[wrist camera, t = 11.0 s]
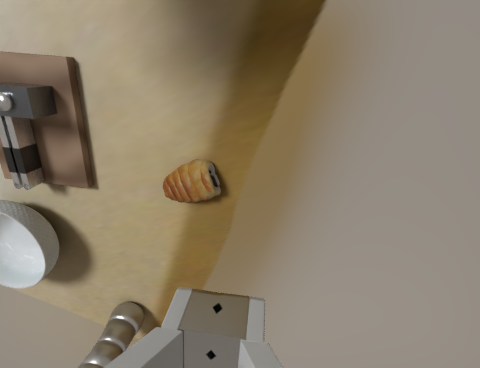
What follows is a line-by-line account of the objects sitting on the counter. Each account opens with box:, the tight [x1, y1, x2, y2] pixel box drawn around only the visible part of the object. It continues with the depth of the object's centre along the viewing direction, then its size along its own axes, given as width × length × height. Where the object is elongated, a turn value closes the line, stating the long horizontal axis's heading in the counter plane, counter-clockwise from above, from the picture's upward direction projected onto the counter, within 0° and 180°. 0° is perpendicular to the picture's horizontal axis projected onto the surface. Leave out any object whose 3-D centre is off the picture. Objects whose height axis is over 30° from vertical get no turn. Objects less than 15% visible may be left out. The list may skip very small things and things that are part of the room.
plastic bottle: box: [78, 302, 144, 368], centre depth 49 cm, size 6×7×20 cm
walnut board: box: [0, 52, 93, 188], centre depth 42 cm, size 20×15×2 cm
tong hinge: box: [0, 82, 58, 119], centre depth 38 cm, size 4×7×5 cm, turn 85°
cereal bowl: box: [0, 200, 59, 288], centre depth 49 cm, size 17×17×7 cm
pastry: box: [163, 160, 221, 203], centre depth 43 cm, size 9×7×4 cm
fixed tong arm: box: [0, 116, 23, 189], centre depth 42 cm, size 12×1×3 cm, turn 176°
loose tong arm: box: [4, 116, 44, 190], centre depth 42 cm, size 12×1×3 cm, turn 176°
